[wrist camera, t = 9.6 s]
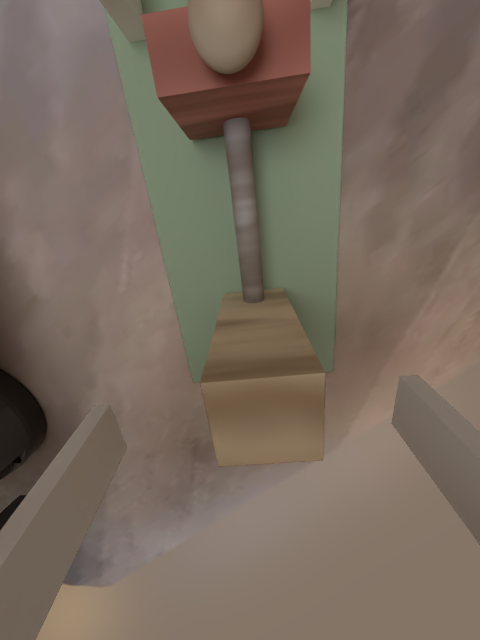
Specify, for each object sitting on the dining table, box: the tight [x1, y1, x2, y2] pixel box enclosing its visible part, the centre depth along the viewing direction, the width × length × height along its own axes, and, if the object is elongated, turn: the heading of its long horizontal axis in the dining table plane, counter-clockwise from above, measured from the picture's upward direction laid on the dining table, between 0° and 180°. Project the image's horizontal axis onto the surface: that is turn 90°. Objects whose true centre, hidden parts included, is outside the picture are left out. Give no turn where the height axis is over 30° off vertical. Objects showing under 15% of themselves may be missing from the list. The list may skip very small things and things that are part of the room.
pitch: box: [104, 0, 348, 383], centre depth 18 cm, size 32×14×1 cm, turn 7°
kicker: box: [141, 0, 325, 467], centre depth 14 cm, size 18×6×12 cm, turn 7°
